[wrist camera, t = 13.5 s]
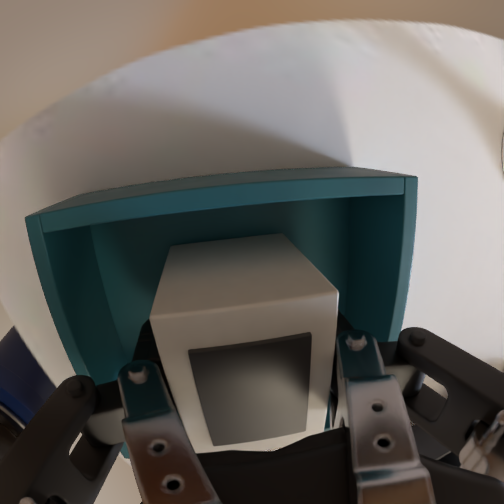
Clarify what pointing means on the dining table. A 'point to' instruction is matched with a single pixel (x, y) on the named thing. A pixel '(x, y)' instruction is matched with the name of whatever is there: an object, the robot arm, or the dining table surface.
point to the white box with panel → (246, 341)
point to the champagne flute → (503, 153)
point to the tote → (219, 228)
